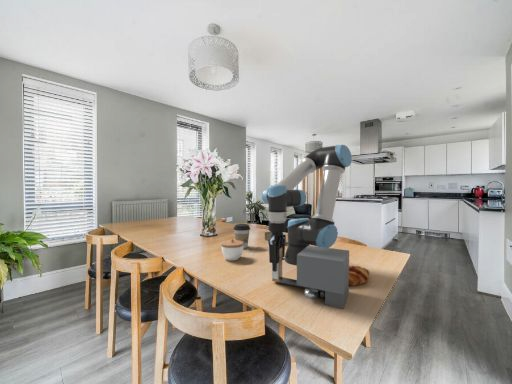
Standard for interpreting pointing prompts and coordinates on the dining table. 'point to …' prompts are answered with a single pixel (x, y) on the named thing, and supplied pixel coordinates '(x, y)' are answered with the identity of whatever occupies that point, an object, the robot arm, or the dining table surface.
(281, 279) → the hook tool
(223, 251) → the lidded bowl
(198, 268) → the dining table surface
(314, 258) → the grey l-shaped block
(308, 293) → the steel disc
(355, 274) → the croissant
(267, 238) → the beverage carton
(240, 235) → the coffee cup
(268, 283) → the dining table surface
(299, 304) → the dining table surface
